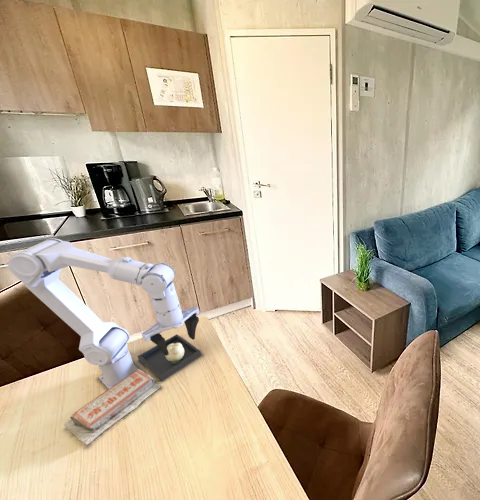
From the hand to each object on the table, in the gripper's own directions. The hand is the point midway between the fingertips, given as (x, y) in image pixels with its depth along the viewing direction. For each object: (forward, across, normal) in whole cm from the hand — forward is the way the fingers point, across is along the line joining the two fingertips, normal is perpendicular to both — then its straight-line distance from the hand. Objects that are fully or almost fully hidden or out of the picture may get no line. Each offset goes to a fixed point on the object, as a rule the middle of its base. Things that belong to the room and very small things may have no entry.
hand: (179, 345), depth 83 cm
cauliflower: (+10, +1, +7) cm, 12 cm away
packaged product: (+11, -17, +4) cm, 20 cm away
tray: (+10, 0, +10) cm, 14 cm away
